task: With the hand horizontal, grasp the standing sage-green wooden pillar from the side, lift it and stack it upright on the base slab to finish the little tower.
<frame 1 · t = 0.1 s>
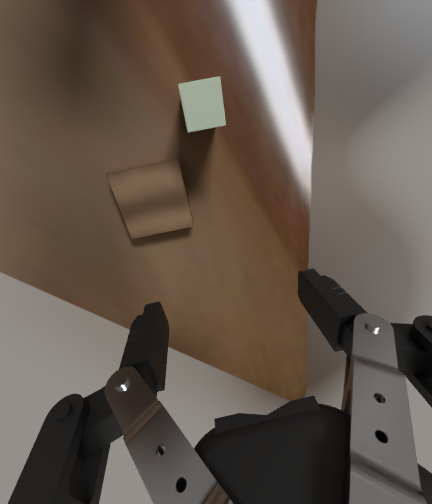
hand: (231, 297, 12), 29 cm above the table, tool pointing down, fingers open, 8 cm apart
pillar: (198, 113, 32), on the table
base slab: (155, 197, 38), on the table
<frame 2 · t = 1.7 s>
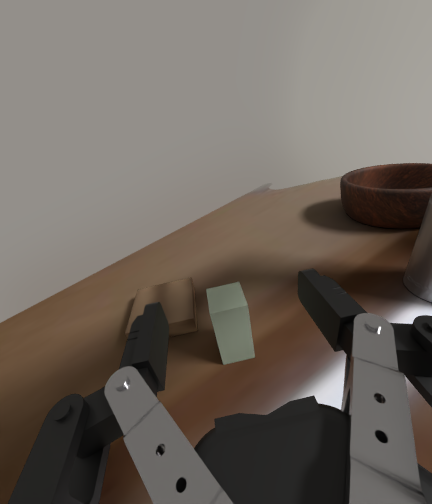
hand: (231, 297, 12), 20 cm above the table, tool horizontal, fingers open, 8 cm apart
pillar: (235, 347, 32), on the table
wooden bowl: (389, 214, 58), on the table
base slab: (167, 313, 40), on the table
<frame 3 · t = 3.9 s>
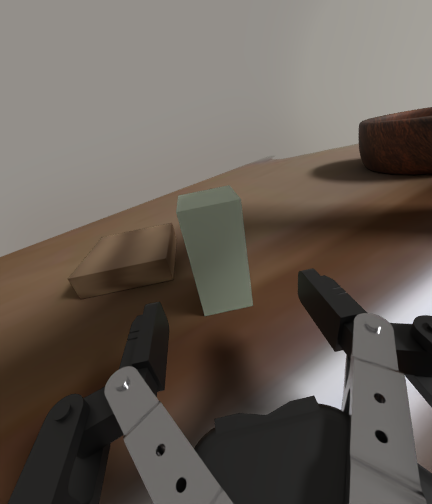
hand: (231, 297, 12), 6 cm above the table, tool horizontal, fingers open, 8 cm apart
pillar: (225, 294, 22), on the table
wooden bowl: (418, 165, 48), on the table
base slab: (136, 264, 30), on the table
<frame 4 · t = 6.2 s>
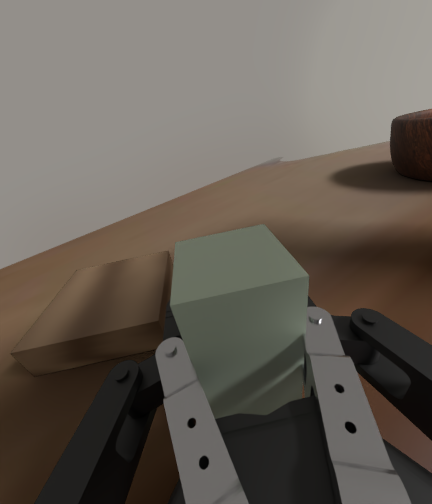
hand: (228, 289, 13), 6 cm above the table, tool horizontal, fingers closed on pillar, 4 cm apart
pillar: (249, 388, 14), on the table, touching gripper
base slab: (120, 312, 22), on the table
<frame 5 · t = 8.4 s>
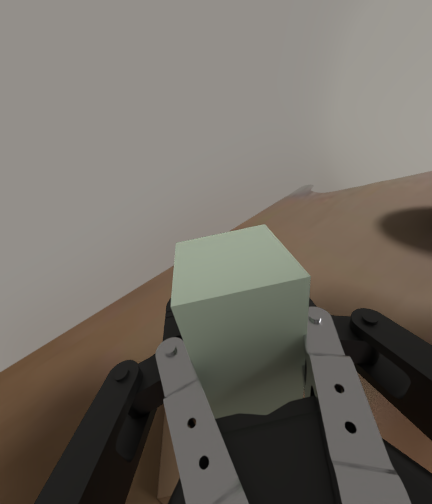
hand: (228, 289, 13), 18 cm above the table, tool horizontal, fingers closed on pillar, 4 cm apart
pillar: (250, 389, 14), point 12 cm above the table, touching gripper
base slab: (223, 418, 23), on the table
when the fingers open (10 cm above the table, at t = 10.9 s): pillar drops 1 cm, resting on base slab.
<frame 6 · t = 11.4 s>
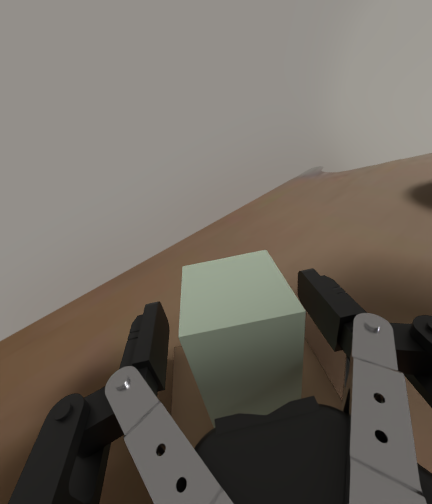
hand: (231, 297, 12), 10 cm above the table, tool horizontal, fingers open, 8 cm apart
pillar: (251, 400, 14), point 3 cm above the table, touching base slab
base slab: (255, 421, 16), on the table
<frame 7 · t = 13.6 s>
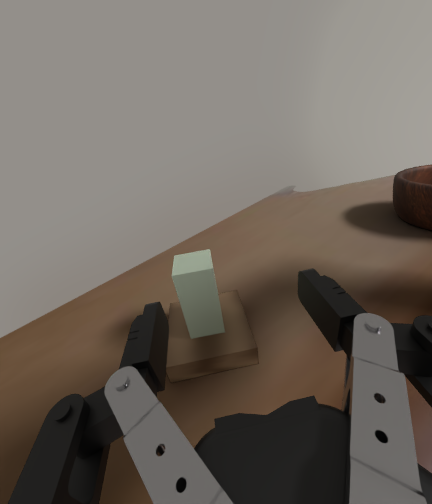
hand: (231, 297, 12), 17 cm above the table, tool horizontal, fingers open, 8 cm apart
pillar: (206, 322, 30), point 3 cm above the table, touching base slab
base slab: (210, 336, 31), on the table
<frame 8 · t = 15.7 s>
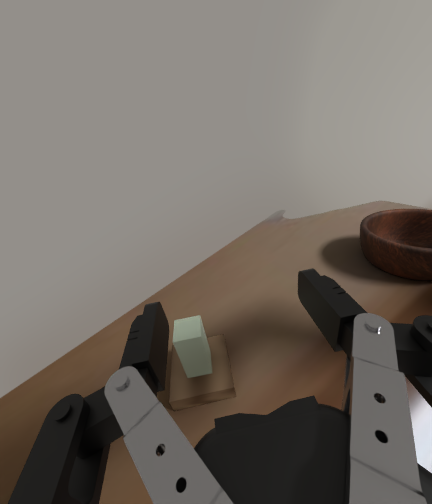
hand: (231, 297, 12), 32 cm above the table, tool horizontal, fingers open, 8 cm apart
pillar: (199, 363, 40), point 3 cm above the table, touching base slab
wooden bowl: (407, 260, 60), on the table
base slab: (202, 372, 42), on the table
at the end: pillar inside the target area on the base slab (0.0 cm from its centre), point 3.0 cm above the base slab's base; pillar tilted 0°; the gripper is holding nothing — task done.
